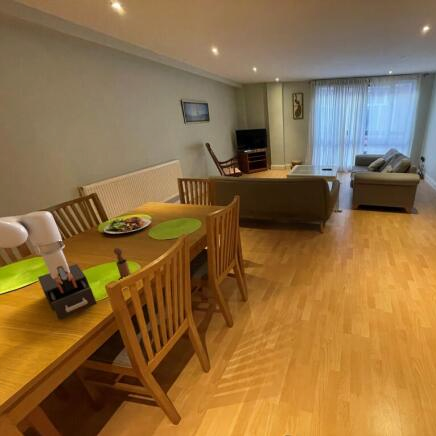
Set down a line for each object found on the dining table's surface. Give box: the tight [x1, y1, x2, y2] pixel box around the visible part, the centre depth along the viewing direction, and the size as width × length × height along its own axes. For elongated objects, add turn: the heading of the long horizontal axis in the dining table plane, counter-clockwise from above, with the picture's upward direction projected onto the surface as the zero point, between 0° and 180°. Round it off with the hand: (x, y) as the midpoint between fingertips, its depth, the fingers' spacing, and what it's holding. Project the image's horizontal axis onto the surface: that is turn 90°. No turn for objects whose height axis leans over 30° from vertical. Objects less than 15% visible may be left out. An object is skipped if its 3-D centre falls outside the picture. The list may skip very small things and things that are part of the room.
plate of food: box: [103, 216, 152, 234], centre depth 165 cm, size 28×28×6 cm
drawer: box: [49, 280, 98, 322], centre depth 93 cm, size 18×11×8 cm, turn 51°
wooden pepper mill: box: [113, 246, 132, 281], centre depth 107 cm, size 7×6×18 cm
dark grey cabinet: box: [37, 263, 91, 313], centre depth 100 cm, size 15×13×10 cm
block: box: [55, 273, 77, 293], centre depth 91 cm, size 5×5×5 cm
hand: (67, 287), depth 92 cm, fingers closed on block, 4 cm apart
